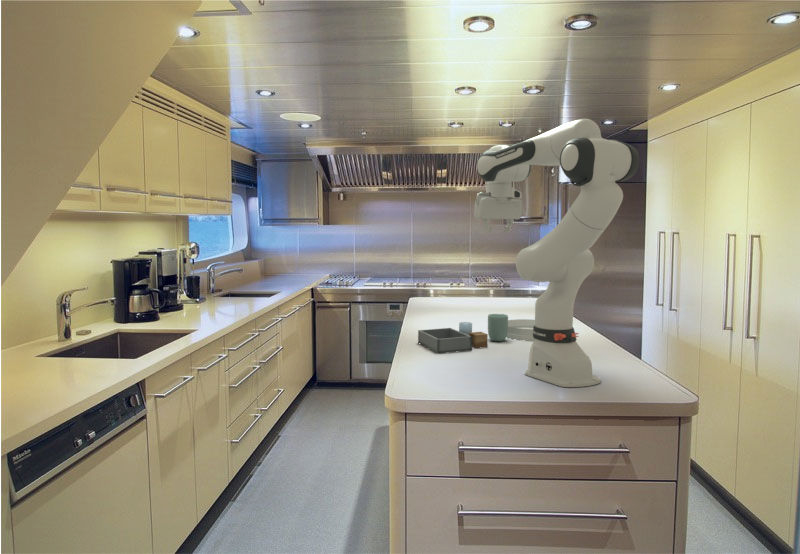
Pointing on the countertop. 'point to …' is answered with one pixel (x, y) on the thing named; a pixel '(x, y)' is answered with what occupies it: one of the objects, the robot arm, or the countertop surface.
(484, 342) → the walnut cube
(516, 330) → the dish
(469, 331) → the blue cylinder
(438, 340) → the tote
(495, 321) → the cup
